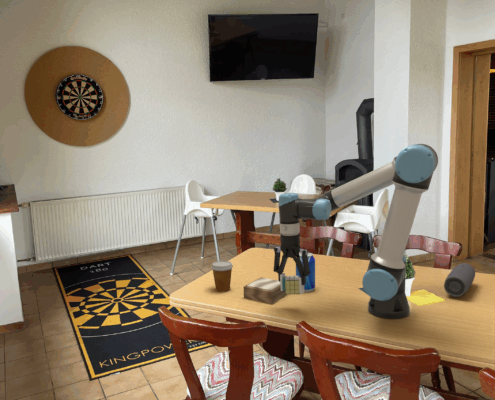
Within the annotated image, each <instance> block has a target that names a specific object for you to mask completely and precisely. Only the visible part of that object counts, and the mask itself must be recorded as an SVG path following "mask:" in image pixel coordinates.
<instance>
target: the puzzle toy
mask: <svg viewBox="0 0 495 400" xmlns="http://www.w3.org/2000/svg"><path fill="white" fill-rule="evenodd" d="M285 294H287V295H300V294H299V276H296V275H285Z"/></svg>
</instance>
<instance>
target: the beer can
mask: <svg viewBox="0 0 495 400" xmlns="http://www.w3.org/2000/svg"><path fill="white" fill-rule="evenodd" d="M299 255H300V260H301V262H302V265H303V261H302V255H301V252H300V253H299ZM307 256H308V262H309V267H310V275H308V276H306V284H305V285H304V292H303V293H311V292H313V291H314V290H315V288H316V258H315V257H314V254H313V253H312V252H308V255H307ZM295 276H299V277H300V273H299V271H298V268H297V266H296V265H295Z"/></svg>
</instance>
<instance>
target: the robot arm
mask: <svg viewBox="0 0 495 400" xmlns="http://www.w3.org/2000/svg"><path fill="white" fill-rule="evenodd" d="M438 165H439V157H438V154H437V152H436V150H435V149H434V148H433V147H432V146H430V145H429V144H424V143H417V144H416V143H415V144H410V145H408V146H406V147H404V148H403V149H401V151H399V153H398V154H397V156H395V157H393V159H392V161H391V162H389V163H387V164H385V165H382V166H380V167H377V168H376V169H374V170H372V171H370V172H368V173H365V174H363V175H360V176H359V177H357V178H355V179H353V180H350V181H348V182H346V183H344V184H342V185H340V186H338V187H335V188H333V189H331V190H329V191H327V192H324V193H322V194H320V195H318V196H315V197H314V198H299V194H298V193H296V192H285V193H280V194H279V196H278V215H279V233H280V235H279V237H280V239H279V240H280V246H275V247H274V248H273V252H274V258H273V259H274V260H273V272H274V273H277V276H278V278H277V280H279V282H280V285H281V291H283V290H285V276H286V272H285V271H284V270H285V267H286V264H287V262H288V259H289V258H290V259H292V260H293V261H294V263H295V267H296V266H297V268H298V271H299V273H300V277H299V294H298V295H302V294H304V293H305V292H304V285H305V284H306V276H308V275H310V267H309V262H308V256H307V255H308V253H309V250H308V249H307V248H305V249H304V248H302V247H301V234H300V232H301V229H300V227H301V226H300V220H318V221H321V220H329V219H330V217H331V214H332V212H333V211H336V210H338V209H340V208H343V207H344V206H346V205H349V204H351V203H353V202H355V201H358V200H360V199H362V198H365V197H367V196H369V195H372V194H374V193H376V192H379V191H382V190H383V189H386V188H389V187H391V186H392V185H394V190H393V195H392V198H391V201H390V205H389V208H388V212H387V214H386V215H387V216H386V219H385V222H384V226H383V230H382V232H381V236H380V239H379V244H378V247H377V251H375V252H374V253H372V254H371V256H370V259H369V263H368V266H367V269H366V272H365V273H364V274H363V277H362V280H361V281H362V282H361V283H362V288H363V290H364V291H365V293H366V295H368V296H369V297H370V298H369V300H368V303H367V311H368V312H369V313H370V314H372V315H373V316H376V317H379V318H383V319H390V320H392V319H393V320H394V319H396V320H397V319H403V318H407V317H408V316H409V315H410V305H409V301H408V298H407V295H406V272H407V271H406V270H407V269H406V268H407V266H406V265H407V257H406V255H405V252H406V248H407V245H408V243H409V237H410V234H411V231H412V228H413V224H414V222H415V221H414V220H415V217H416V214H417V211H418V207H419V204H420V200H421V197H422V195H423V193H425V192H427V191H428V190H429V189H430V186H431V185H430V184H431V182H432V179H433V175H434V172H435V171H436V170H437V167H438ZM281 252H282V255H281ZM299 253H301V255H302V261H303V265H302V262H301V260H300V255H299Z"/></svg>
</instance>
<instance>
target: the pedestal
mask: <svg viewBox="0 0 495 400" xmlns="http://www.w3.org/2000/svg"><path fill="white" fill-rule="evenodd" d="M286 296H288V294H285V290H283V291H281V285H280V282H279V280H278V279H272V278H266V277H259V278H258V279H257V278H256V279H255V280H253V281H251V282H250V283H248V284H246V285H244V286H243V299H247V300H252V301H255V302H256V301H257V302H260V303H265V304H270V305H274V304H275V303H277V302H278V301H280V300H281V299H283V298H284V297H286Z"/></svg>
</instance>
